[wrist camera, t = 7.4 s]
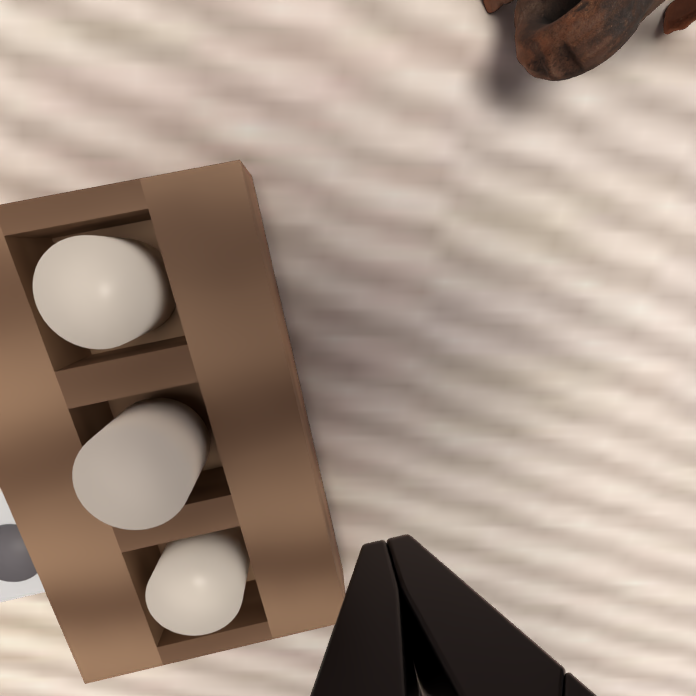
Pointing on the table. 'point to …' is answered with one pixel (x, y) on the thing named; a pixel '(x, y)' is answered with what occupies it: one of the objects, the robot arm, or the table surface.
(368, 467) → the table surface
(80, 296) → the button
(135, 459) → the button middle
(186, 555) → the button
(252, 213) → the button board
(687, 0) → the pottery mug
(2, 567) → the card
